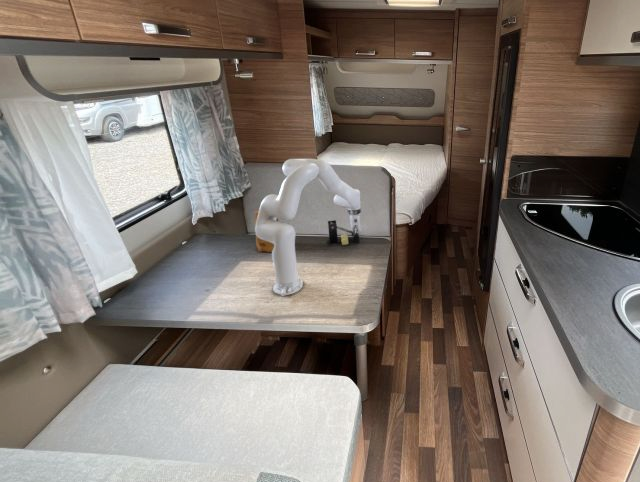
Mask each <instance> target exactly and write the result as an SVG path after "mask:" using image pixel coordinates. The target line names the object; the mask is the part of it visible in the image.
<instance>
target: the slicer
mask: <svg viewBox="0 0 640 482" xmlns="http://www.w3.org/2000/svg"><path fill="white" fill-rule="evenodd" d="M331 222H333V224H330V223H331ZM327 226H328V244H329V245H336V244H339V238H338V228H337V226H338V225H337V220H336V219H335V220H327Z"/></svg>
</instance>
